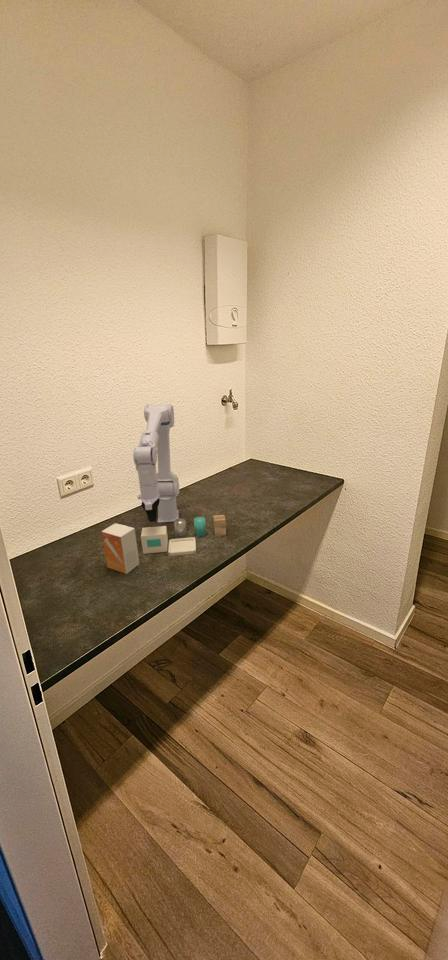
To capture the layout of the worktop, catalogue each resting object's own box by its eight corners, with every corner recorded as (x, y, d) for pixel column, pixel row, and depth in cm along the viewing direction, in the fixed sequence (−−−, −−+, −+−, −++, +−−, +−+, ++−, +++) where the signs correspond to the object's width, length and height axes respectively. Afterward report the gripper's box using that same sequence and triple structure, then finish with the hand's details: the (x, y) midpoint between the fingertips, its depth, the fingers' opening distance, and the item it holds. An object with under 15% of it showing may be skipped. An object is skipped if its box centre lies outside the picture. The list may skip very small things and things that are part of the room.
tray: (169, 542, 137) (169, 539, 136) (195, 540, 138) (195, 537, 137) (168, 556, 128) (168, 553, 128) (196, 553, 129) (196, 550, 129)
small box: (106, 568, 124) (100, 531, 119) (121, 558, 129) (115, 522, 124) (126, 574, 120) (120, 536, 115) (140, 564, 125) (135, 527, 120)
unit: (144, 544, 137) (142, 527, 134) (168, 542, 137) (166, 525, 135) (142, 554, 130) (140, 536, 128) (167, 552, 131) (165, 534, 129)
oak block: (214, 530, 144) (213, 515, 142) (225, 529, 144) (224, 514, 142) (215, 535, 140) (214, 520, 138) (226, 534, 140) (225, 519, 138)
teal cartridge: (194, 532, 143) (193, 517, 141) (205, 531, 143) (204, 516, 141) (195, 537, 139) (194, 522, 137) (206, 536, 140) (205, 521, 138)
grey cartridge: (175, 533, 143) (174, 518, 140) (186, 532, 143) (185, 517, 141) (175, 539, 139) (173, 523, 137) (186, 538, 139) (185, 523, 137)
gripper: (138, 476, 133) (142, 512, 138) (133, 492, 120) (138, 532, 124) (159, 474, 134) (163, 511, 138) (156, 490, 120) (160, 530, 125)
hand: (152, 520), depth 131 cm, fingers closed
